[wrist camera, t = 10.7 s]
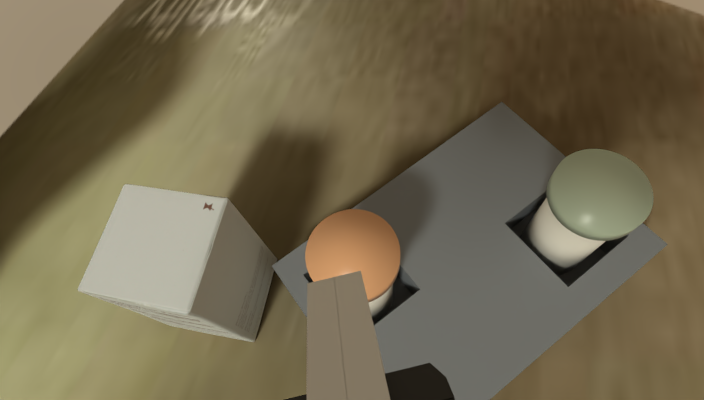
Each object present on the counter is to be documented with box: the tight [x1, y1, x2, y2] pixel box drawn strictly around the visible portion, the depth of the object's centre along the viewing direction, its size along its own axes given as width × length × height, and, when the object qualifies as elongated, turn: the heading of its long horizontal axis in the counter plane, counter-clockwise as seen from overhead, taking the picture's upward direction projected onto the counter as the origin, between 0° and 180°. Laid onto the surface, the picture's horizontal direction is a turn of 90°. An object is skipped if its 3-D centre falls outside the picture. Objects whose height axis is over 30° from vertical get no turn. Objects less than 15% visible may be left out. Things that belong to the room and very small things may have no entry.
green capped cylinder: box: [521, 149, 653, 275], centre depth 32 cm, size 6×6×10 cm
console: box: [272, 102, 667, 400], centre depth 35 cm, size 16×23×5 cm
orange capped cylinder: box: [305, 209, 400, 322], centre depth 31 cm, size 6×6×10 cm
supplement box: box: [78, 184, 277, 342], centre depth 33 cm, size 7×7×13 cm
